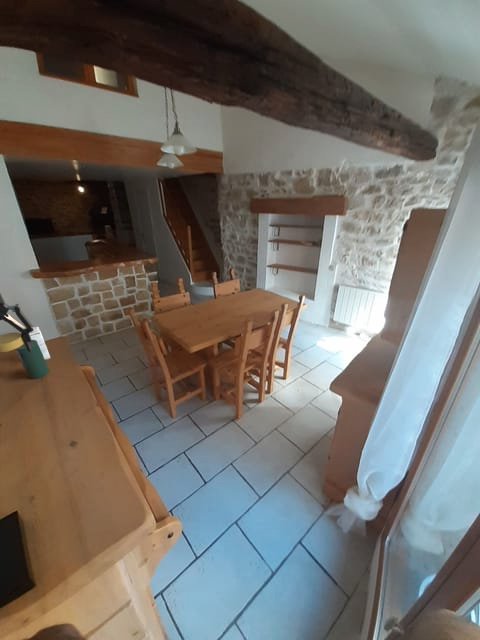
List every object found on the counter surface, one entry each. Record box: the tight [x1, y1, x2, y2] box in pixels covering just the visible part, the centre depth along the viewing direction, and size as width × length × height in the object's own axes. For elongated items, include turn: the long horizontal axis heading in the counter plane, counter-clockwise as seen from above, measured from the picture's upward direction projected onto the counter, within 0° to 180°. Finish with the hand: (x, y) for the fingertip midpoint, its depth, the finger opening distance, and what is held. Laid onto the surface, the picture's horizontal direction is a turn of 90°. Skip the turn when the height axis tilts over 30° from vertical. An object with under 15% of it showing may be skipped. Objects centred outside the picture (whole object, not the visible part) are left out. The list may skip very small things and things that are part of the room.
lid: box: [0, 331, 24, 353], centre depth 85 cm, size 9×8×3 cm
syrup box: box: [29, 326, 51, 361], centre depth 111 cm, size 6×6×14 cm
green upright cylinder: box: [14, 340, 50, 380], centre depth 102 cm, size 7×7×14 cm
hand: (13, 354), depth 87 cm, fingers closed on lid, 8 cm apart
